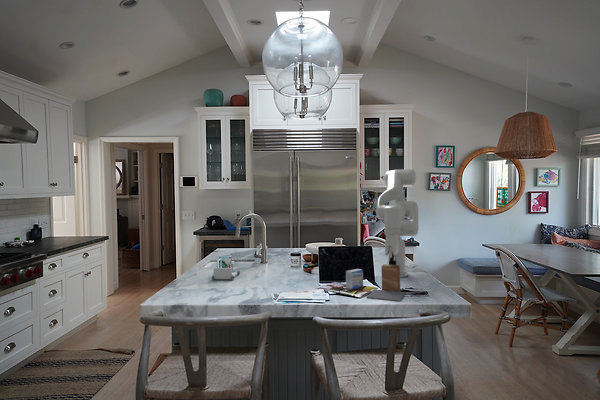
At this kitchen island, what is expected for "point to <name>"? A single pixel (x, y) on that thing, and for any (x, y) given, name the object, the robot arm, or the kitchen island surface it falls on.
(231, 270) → the grey desk organizer
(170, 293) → the kitchen island surface
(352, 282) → the medicine box
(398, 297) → the charcoal mat
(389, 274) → the brown wooden block
